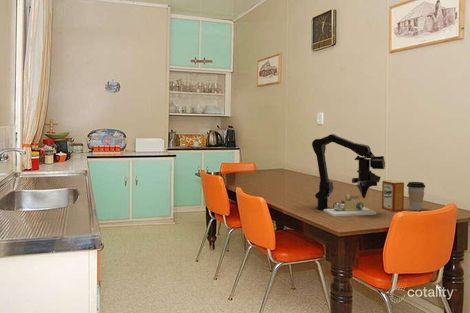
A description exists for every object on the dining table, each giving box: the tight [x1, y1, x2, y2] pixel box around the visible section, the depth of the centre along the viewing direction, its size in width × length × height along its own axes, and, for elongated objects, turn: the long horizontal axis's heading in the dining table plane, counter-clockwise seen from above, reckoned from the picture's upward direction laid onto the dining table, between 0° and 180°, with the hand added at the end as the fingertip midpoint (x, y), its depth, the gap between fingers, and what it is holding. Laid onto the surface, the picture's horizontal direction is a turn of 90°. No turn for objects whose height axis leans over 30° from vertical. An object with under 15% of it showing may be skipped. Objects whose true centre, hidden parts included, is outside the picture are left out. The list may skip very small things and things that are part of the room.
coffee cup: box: [406, 181, 426, 212], centre depth 224 cm, size 9×9×15 cm
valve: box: [332, 198, 365, 211], centre depth 219 cm, size 16×5×6 cm, turn 99°
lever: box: [344, 193, 369, 200], centre depth 219 cm, size 12×3×2 cm, turn 82°
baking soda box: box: [381, 179, 405, 212], centre depth 225 cm, size 10×6×16 cm
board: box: [323, 206, 377, 218], centre depth 218 cm, size 13×24×1 cm, turn 99°
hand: (363, 197), depth 216 cm, fingers closed
